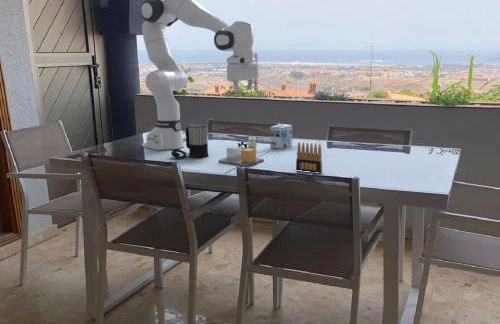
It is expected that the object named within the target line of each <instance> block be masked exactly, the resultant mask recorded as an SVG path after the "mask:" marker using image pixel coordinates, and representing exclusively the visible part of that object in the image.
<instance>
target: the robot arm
mask: <svg viewBox="0 0 500 324" xmlns="http://www.w3.org/2000/svg"><path fill="white" fill-rule="evenodd" d="M139 8H140V9H139V10H140V16H141V18H142V19H143V20H144V22H143V23H142V25H141V28H142V29H141V30H142V39H143V42H144V46H145V49H146V53H147V56H148V59H149V62H151V63H152V64H153V65H154V66H155V67H156V68H157V69H156V70H153V71H150V72H149V73H147V74H146V77H145V80H144V81H145V85H146V86H145V87H146V88H147V89H148V91H149V92H151V94H152V96H153V98H154V101H155V103H156V110H157V111H156V112H157V120H153V123H154V124H155V127H154V128H152V129H151V130H150V131H149V132H148V133H147V134H146V139H145V142H144V143H142V144H141V147H143V148H147V149H152V150H155V151H163V150H174V149H181V148H184V147H185V143H184V139H183V135H182V134H183V133H182V120H181V119H182V118H181V113H180V111H181V109H180V107H181V106H180V102H178V100H176V98H175V97H174V93H173V92H176V91H180V90H181V89H183V88H185V87H186V86H187V84H188V75H187V73H186V72H185V71H184V70H182V68H181V67H180V66H179V64H178V63H177V62H176V60H175V58H174V57H173V54H172V52H171V49H170V44H169V41H168V38H167V33H166V27H169V28H170V27H171V26H172V25H173V24H174V23H176V22H178V20H179V21H181V22H182V23H183V24H186V25H187V26H189V27H193V28H200V29H207V30H209V31H211V32H213V33H214V36H213V37H214V38H213V44H214V46H215V47H216V49H217V50H219V51H222V52H233V54H231V56H229V57H227V58H226V63H227V65H226V78H227V81H228V82H232V84H233V86H234V91H235V92H240V91H241V87H239V84H240V81H247V82H248V83H247V85H246V90H248V91H250V90H253V89H252V87H253V83H254V80H258V79H259V66H258V63H257V61H256V59H255V58H254V48H253V47H254V28H253V24H252V23H250V22H249V21H244V20H234V22H233V23H232V24H231V25H229V24H228V23H226V22H225V21H223V20H222V19H220V18H219V17H217V16H215V15H213V14H212V13H211V12H210V11H208V9H206V8H205V7H203V6H202V5H201V4H200V3H198V2H197V1H196V0H144V1H143V2H142V3H141V5H140V7H139Z"/></svg>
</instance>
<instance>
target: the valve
mask: <svg viewBox="0 0 500 324" xmlns="http://www.w3.org/2000/svg"><path fill="white" fill-rule="evenodd" d="M237 145H238V146H237V147H240V153H241V156H242V150H243V149H246V148H250V149H256V150H257V138H256V137H255V136H254V137H251V136H250V137H248V138H247V142H246V143H245V142H244V140H243V141H241V142H238V143H237Z"/></svg>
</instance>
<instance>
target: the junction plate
mask: <svg viewBox="0 0 500 324" xmlns="http://www.w3.org/2000/svg"><path fill="white" fill-rule="evenodd" d="M240 150H241V146H240V147H238V146H233V145H231V146H229V147H226V157H224V158H221V159H218V163H219V164H225V165H233V166H237V167H238V166H240V167H245V168H251V167H253V166H255V165H259V164H260V163H263V162H264V161H265V160H264V158H259V157H258V158H257V157H256V161H253V162H244V161H242V155H241V152H240Z"/></svg>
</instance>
